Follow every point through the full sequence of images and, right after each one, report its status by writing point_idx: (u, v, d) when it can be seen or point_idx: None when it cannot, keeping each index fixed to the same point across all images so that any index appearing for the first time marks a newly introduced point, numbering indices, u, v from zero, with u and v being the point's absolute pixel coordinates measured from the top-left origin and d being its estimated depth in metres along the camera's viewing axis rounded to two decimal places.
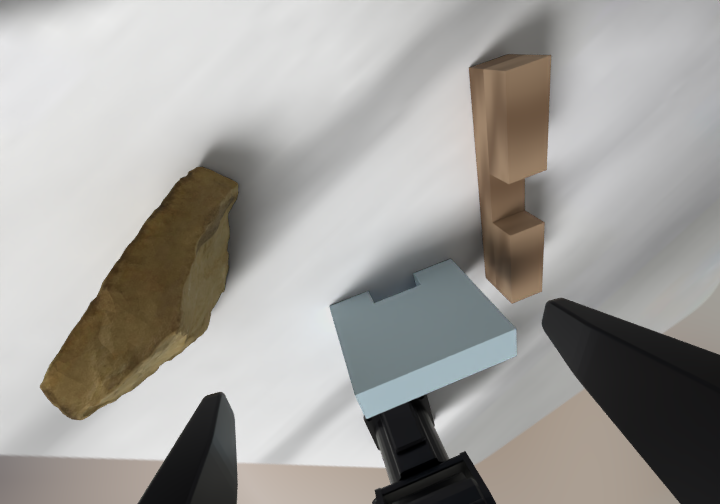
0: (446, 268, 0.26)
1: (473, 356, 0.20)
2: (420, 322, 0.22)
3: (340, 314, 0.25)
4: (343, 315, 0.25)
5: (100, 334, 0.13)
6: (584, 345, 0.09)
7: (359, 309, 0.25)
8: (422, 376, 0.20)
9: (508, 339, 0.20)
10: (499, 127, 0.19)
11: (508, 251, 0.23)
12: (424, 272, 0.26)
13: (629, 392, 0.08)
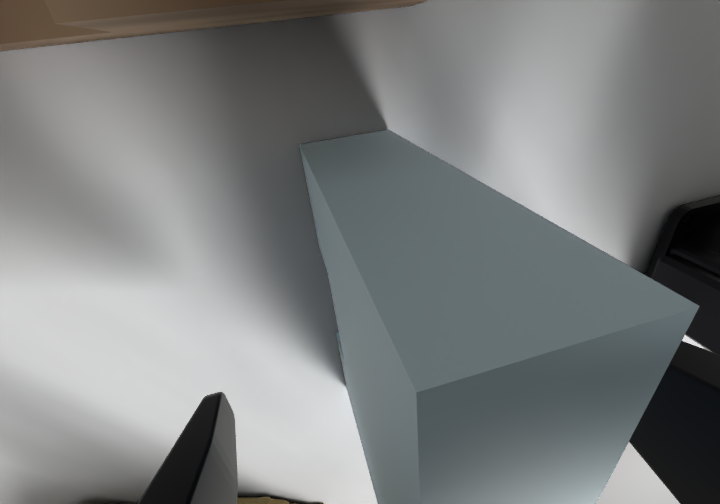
0: (309, 186, 0.09)
1: None
2: (364, 408, 0.08)
3: (352, 406, 0.13)
4: (353, 408, 0.13)
5: None
6: None
7: (349, 384, 0.12)
8: None
9: (493, 409, 0.03)
10: None
11: (175, 12, 0.05)
12: (316, 230, 0.10)
13: None
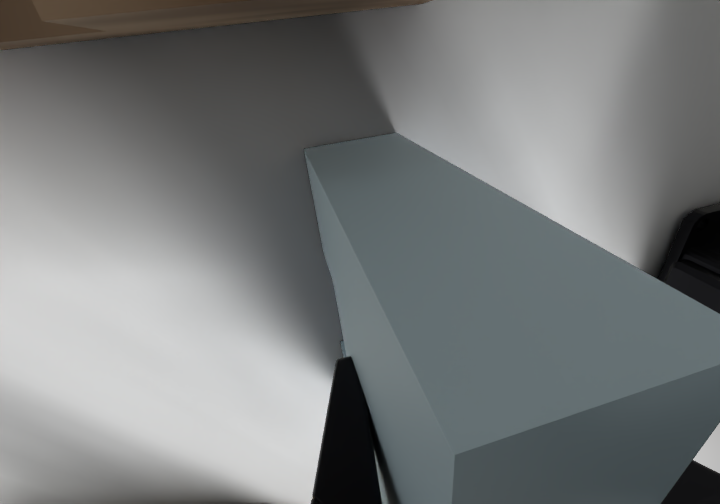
0: (314, 191, 0.08)
1: None
2: (372, 427, 0.07)
3: None
4: None
5: None
6: None
7: None
8: None
9: (537, 465, 0.02)
10: None
11: (173, 10, 0.04)
12: (321, 237, 0.10)
13: None
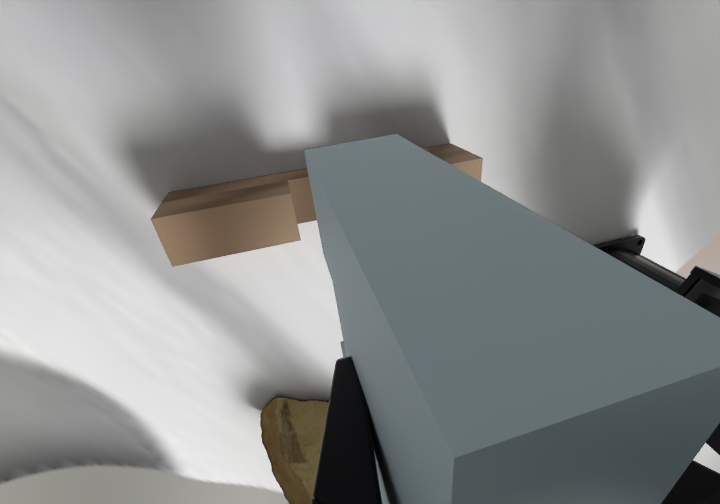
0: (314, 193, 0.08)
1: None
2: (372, 428, 0.07)
3: None
4: None
5: None
6: None
7: None
8: None
9: (536, 467, 0.02)
10: None
11: None
12: (321, 238, 0.10)
13: None
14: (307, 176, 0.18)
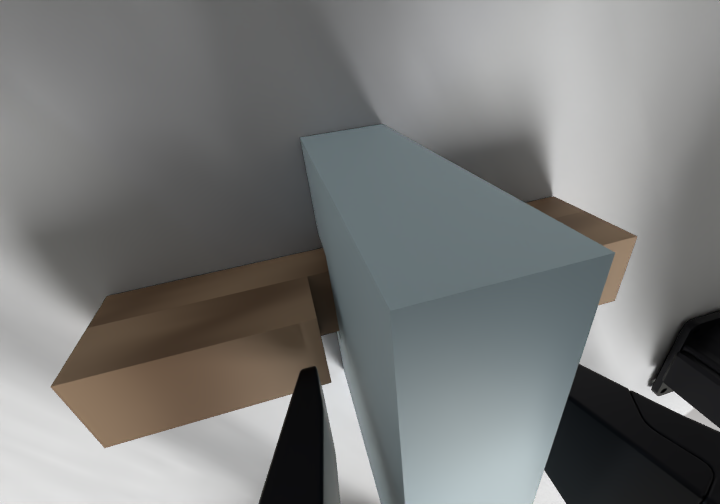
0: (309, 175, 0.10)
1: (464, 446, 0.05)
2: (358, 375, 0.08)
3: (349, 386, 0.14)
4: (349, 387, 0.13)
5: None
6: None
7: (346, 364, 0.13)
8: None
9: (453, 332, 0.04)
10: None
11: None
12: (315, 217, 0.11)
13: None
14: None
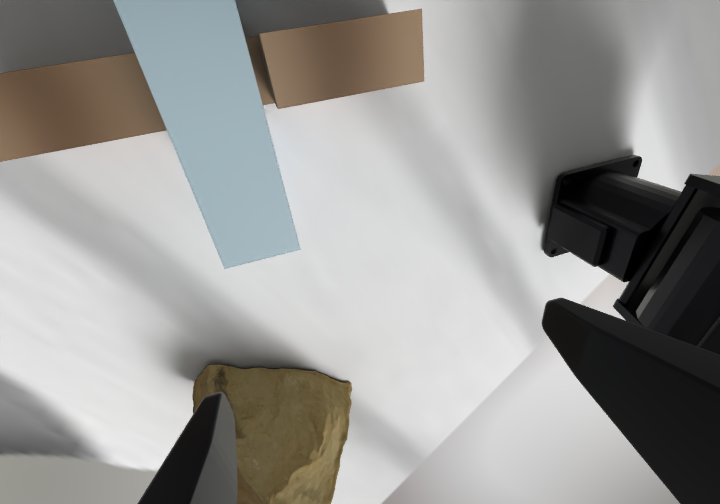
0: None
1: None
2: None
3: None
4: None
5: None
6: (584, 345, 0.09)
7: None
8: (203, 140, 0.09)
9: None
10: None
11: (312, 101, 0.14)
12: None
13: (629, 392, 0.08)
14: None
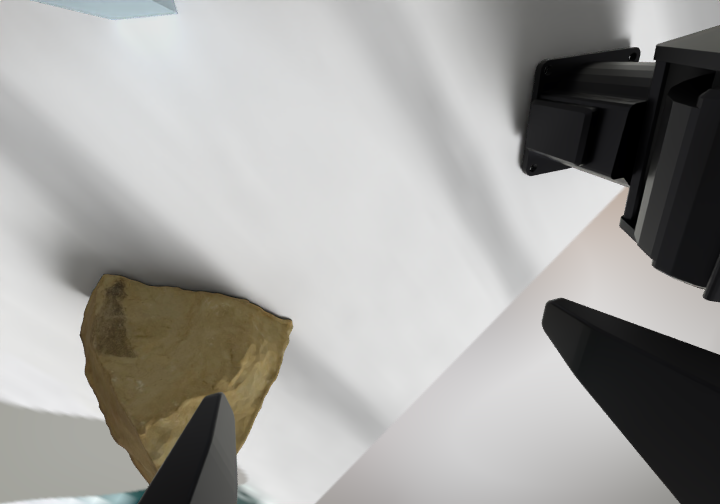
0: None
1: None
2: None
3: None
4: None
5: (144, 467, 0.15)
6: (584, 345, 0.09)
7: None
8: None
9: None
10: None
11: None
12: None
13: (629, 392, 0.08)
14: None
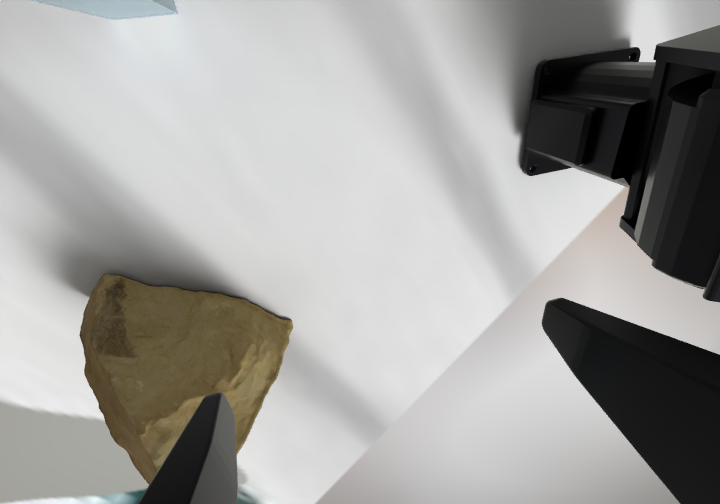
0: None
1: None
2: None
3: None
4: None
5: (143, 467, 0.15)
6: (584, 345, 0.09)
7: None
8: None
9: None
10: None
11: None
12: None
13: (629, 392, 0.08)
14: None
